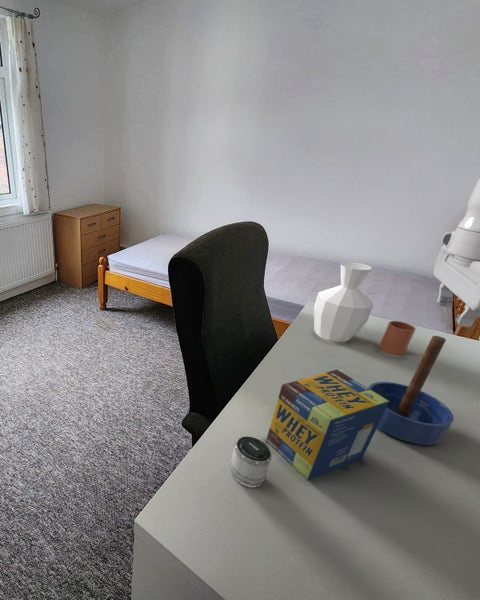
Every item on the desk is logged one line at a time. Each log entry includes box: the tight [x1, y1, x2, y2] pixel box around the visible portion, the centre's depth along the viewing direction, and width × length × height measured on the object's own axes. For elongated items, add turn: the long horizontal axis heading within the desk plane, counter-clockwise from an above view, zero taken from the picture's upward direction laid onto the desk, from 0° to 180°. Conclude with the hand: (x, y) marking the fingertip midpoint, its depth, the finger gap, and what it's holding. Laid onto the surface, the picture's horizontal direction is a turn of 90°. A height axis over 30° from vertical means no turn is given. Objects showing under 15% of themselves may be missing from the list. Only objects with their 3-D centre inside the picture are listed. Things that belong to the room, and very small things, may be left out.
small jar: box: [230, 436, 272, 489], centre depth 65 cm, size 6×6×8 cm
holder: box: [378, 320, 417, 356], centre depth 102 cm, size 6×6×9 cm
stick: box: [396, 335, 447, 418], centre depth 73 cm, size 2×2×22 cm
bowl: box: [367, 381, 455, 446], centre depth 77 cm, size 14×14×6 cm
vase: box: [313, 261, 374, 343], centre depth 107 cm, size 14×14×25 cm
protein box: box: [265, 369, 390, 480], centre depth 68 cm, size 10×15×16 cm
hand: (451, 314), depth 66 cm, fingers open, 8 cm apart
